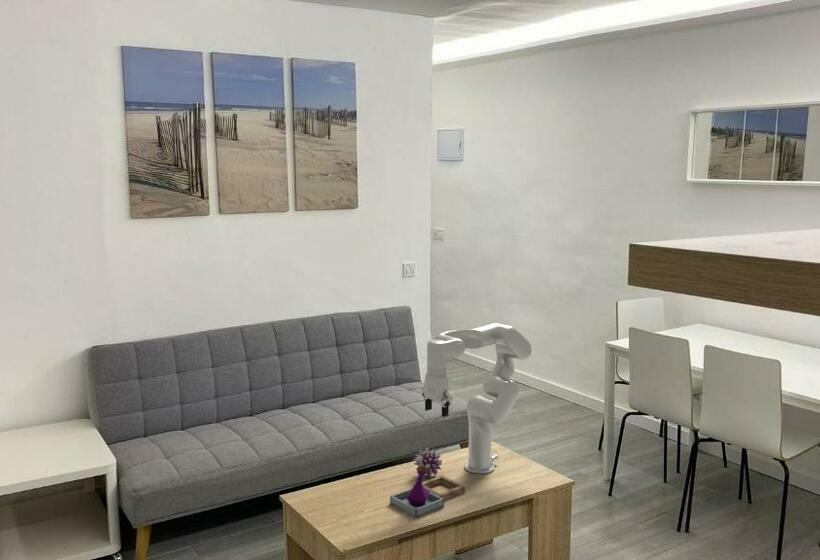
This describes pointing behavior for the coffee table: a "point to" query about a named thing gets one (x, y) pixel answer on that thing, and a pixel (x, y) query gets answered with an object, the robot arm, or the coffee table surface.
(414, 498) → the perfume bottle
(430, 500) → the tray
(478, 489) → the coffee table surface
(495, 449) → the coffee table surface
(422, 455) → the flower
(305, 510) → the coffee table surface
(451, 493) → the square wooden frame
